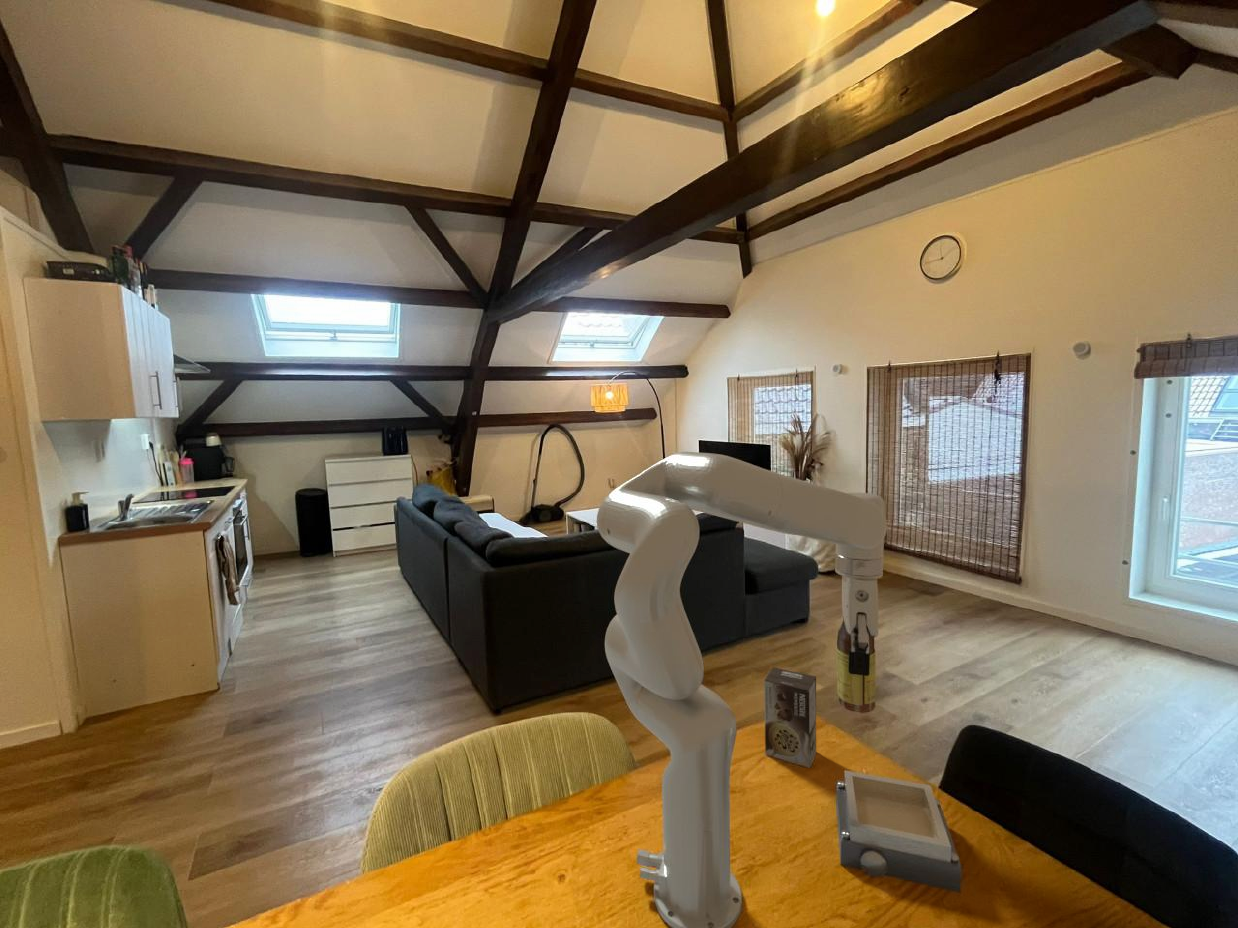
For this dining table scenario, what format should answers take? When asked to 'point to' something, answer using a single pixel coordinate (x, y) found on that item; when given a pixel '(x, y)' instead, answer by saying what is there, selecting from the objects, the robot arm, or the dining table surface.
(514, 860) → the dining table surface
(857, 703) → the sauce bottle
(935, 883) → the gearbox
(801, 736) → the coffee box
